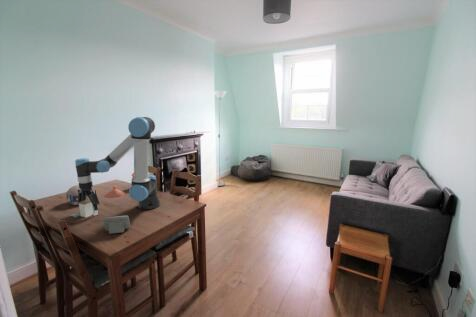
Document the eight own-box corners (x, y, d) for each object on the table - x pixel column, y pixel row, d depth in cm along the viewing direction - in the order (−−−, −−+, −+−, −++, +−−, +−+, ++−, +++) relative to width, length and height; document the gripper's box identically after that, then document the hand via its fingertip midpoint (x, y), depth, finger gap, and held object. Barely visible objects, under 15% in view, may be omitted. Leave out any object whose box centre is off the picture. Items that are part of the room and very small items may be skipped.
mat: (91, 210, 165) (90, 209, 165) (74, 217, 154) (74, 216, 154) (80, 208, 168) (80, 207, 168) (63, 214, 157) (63, 214, 157)
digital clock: (132, 227, 141) (130, 213, 139) (126, 233, 133) (125, 218, 132) (108, 227, 140) (106, 213, 138) (101, 234, 133) (100, 219, 131)
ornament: (71, 202, 180) (69, 183, 177) (93, 199, 185) (91, 181, 182) (64, 209, 166) (61, 189, 163) (88, 207, 171) (85, 187, 168)
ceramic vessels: (105, 203, 178) (103, 179, 175) (97, 196, 193) (94, 174, 189) (149, 192, 203) (148, 171, 200) (139, 187, 217) (137, 167, 214)
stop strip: (93, 210, 165) (93, 208, 165) (75, 217, 153) (75, 215, 153) (91, 209, 165) (91, 208, 165) (73, 217, 153) (73, 215, 153)
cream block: (96, 213, 161) (95, 199, 159) (86, 217, 153) (84, 203, 151) (91, 212, 162) (89, 198, 160) (80, 216, 155) (78, 202, 153)
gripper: (102, 181, 153) (107, 213, 157) (78, 179, 160) (83, 210, 164) (92, 184, 146) (97, 218, 150) (67, 182, 153) (73, 214, 157)
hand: (90, 214), depth 157 cm, fingers open, 9 cm apart
